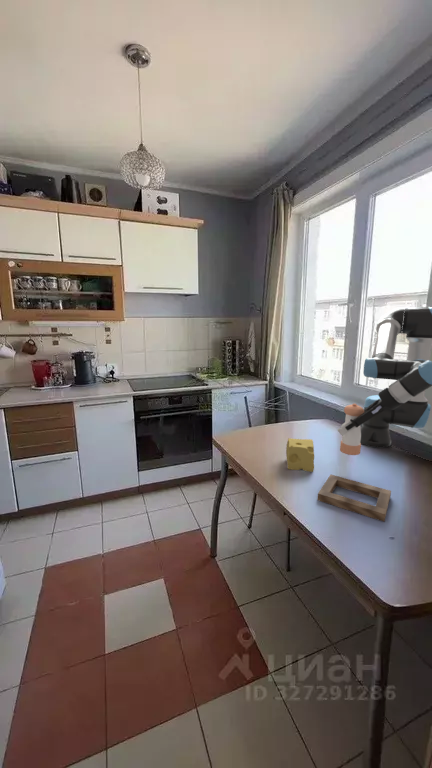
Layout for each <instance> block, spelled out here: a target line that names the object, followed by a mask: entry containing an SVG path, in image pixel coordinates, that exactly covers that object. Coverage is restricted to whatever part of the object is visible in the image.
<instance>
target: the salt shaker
mask: <svg viewBox="0 0 432 768" xmlns="http://www.w3.org/2000/svg"><path fill="white" fill-rule="evenodd" d="M343 413H345V419H344V421H345V422H344V423H345V424H347V423H348V422H350V419H352V420H354V419H355V418H357V417H358V416H360V415H361V414H363V413H364V407H362V406H361V405H357V403H352V404H348V405H346V406H344V409H343ZM361 427H362V424H361V425H360V426H359V427H355V428H354V429H352V430H350V431H349V432H347V433H346V434H344V435H343V436H342V435H341V440H340V446H339V451H340V452H341V453H343V454H345V455H349V456H358V455H360V454H361V449H362V443H360V441H361Z"/></svg>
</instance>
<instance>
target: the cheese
mask: <svg viewBox="0 0 432 768" xmlns="http://www.w3.org/2000/svg"><path fill="white" fill-rule="evenodd" d="M285 449H286V451H285V454H286V455H285V456H286V464H287V470H292V471H300V470H302V471H304V472H310V473H314V471H315V464H314V463H315V450H314V449H315V447H314V440H313V439H311V438H308V439H307V438H306V439H302V438H300V439H299V438H291V437H290V438H289V437H288V439H287V443H286V447H285Z"/></svg>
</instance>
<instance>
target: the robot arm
mask: <svg viewBox="0 0 432 768" xmlns="http://www.w3.org/2000/svg"><path fill="white" fill-rule="evenodd" d="M375 330H376V337H375V343H374V348H373V351H372V356H371V357H367V358H365V360H364V362H363V363H364V364H363V376H364V377H366V378H373V379H379V380H380V379H381V380H394V382H392V383H390V385H388V387H386V388H384V389H382V390H381V391H379V393H378V394H376V395H369V396H368V397H366V398H365V400H364V405H363V409H364V413H363V414H361V415H360V416H358V417H357V418H355V419H354V420H352V419H350V422H348V423H347V424H345V422H344V423H342V424H341V427H340V428H338V429H337V433H339V434H340V435H341V437H342V436H343V435H344V434H346V433H347V432H349V431H350V430H352V429H354V428H355V427H359V426H360V425H361V426H360V427H361V441H360V443H361V445H365V446H367V447H373V448H377V449H378V448H381V449H382V448H389V447H391V445H392V438H391V433H390V425H394V426H401V427H407V428H410V429H413V428H414V429H423V428H425V427H426V425H427V423H428V421H429V418H430V417H429V416H430V413H431V409H432V405H431V404H430V403H428V402H429V399H427V397H426V396H425V394H426V390H428V389H429V388H431V387H432V360H431V354H432V306H431V307H430V306H425V307H421V306H420V307H419V306H418V307H414V306H413V307H397V308H393V309H392V310H390V311H388V312H387V313H385V314H384V315H382V316H381V317H380V319H379V320H378V321H377V324H376V328H375ZM399 334H402V335H405V334H406V337H405V339H406V340H407V341H408V342H409V343H408V349H407V357H406V358H407V359H406V360H405V359H395V353H396V352H395V351H396V345H397V338H398V335H399ZM388 446H389V447H388Z"/></svg>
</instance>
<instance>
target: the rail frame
mask: <svg viewBox="0 0 432 768" xmlns="http://www.w3.org/2000/svg"><path fill="white" fill-rule="evenodd" d="M337 487H338V488H341V489H345V490H347V491H348V490H349V491H352V492H354V493H359V494H363V495H365V496H370V497H372V498H376V499H377V501H376V504H375V505H373V504H370V503H366V502H364V501H360V500H356V499H353V498H350V497H346V496H343V495H340V494H337V493H334V491H335V489H336V488H337ZM391 495H392V490H390V489H387V488H382V487H379V486H375V485H371V484H367V483H364V482H360V481H358V480H357V481H356V480H353V479H349V478H346V477H343V476H337V475H334V474H329V476H328V478H327V479H326V481H325V482H324V483H323V485H322V486H321V488H320V490H318V493H317V501H319V502H322V503H325V504H326V505H327V504H328V505H331V506H333V507H334V506H335V507H338V508H340V509H344V510H347V511H350V512H353V513H355V514H359V515H362V516H365V517H368V518H371V519H374V520H376V521H377V520H378V521H381V522H384V523H385V520H386V517H387V513H388V509H389V504H390V500H391Z"/></svg>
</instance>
